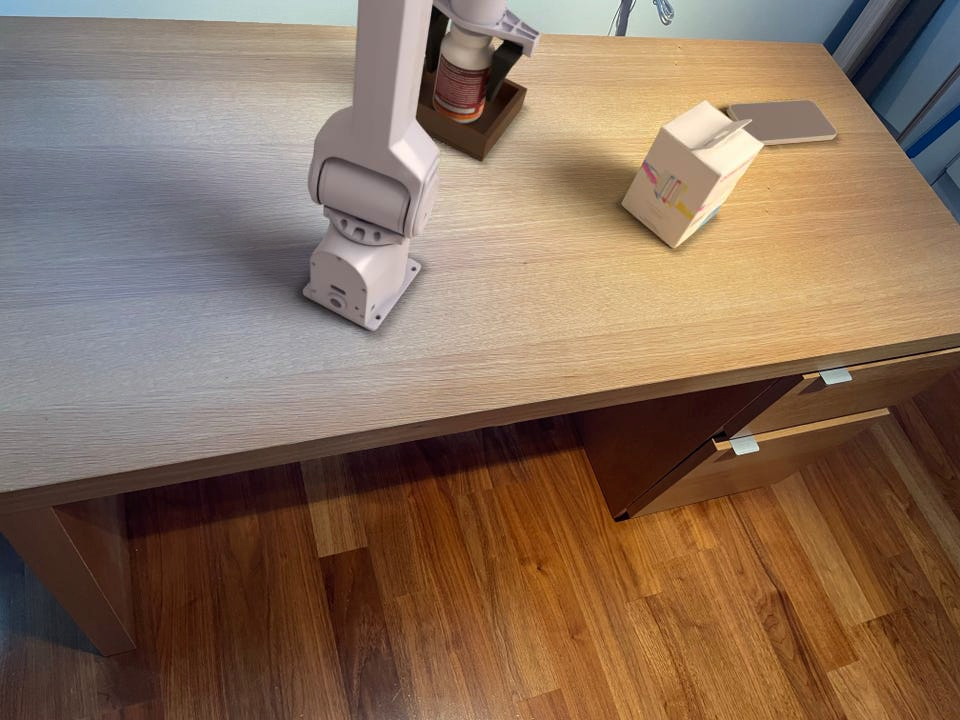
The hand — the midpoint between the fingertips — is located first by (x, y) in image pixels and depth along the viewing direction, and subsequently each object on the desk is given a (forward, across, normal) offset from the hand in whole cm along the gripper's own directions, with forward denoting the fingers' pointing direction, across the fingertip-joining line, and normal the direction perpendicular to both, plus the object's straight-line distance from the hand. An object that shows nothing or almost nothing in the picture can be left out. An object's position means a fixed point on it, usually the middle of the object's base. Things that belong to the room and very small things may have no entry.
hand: (462, 82), depth 79 cm
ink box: (+4, -28, 0) cm, 28 cm away
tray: (+4, 0, 0) cm, 4 cm away
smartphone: (+4, -37, -26) cm, 46 cm away
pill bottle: (+4, 0, 0) cm, 4 cm away
